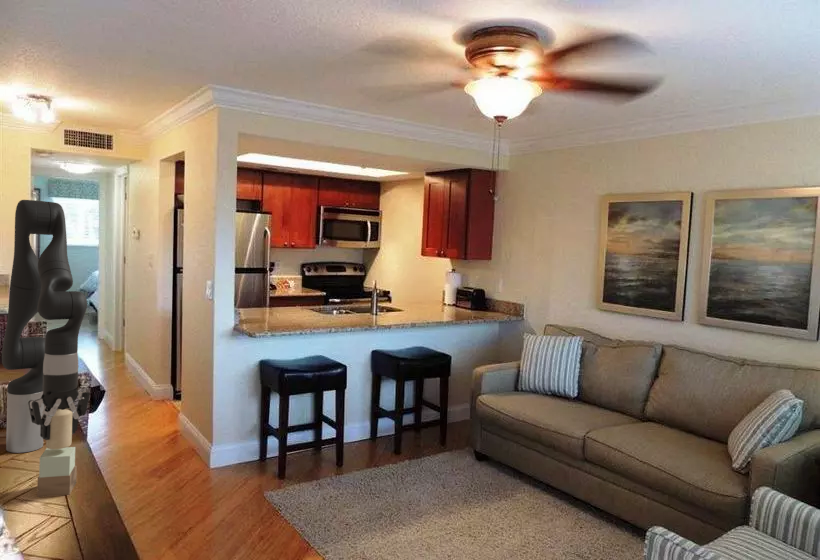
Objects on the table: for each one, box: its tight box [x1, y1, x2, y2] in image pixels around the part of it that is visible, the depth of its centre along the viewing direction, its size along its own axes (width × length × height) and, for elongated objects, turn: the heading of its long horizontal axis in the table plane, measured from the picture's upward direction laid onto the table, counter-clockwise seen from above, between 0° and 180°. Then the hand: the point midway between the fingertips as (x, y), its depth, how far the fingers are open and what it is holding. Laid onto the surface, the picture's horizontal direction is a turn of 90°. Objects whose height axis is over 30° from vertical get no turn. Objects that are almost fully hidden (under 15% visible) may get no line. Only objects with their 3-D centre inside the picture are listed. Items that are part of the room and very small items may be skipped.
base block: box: [36, 464, 78, 498], centre depth 145 cm, size 7×7×5 cm
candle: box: [45, 408, 73, 449], centre depth 144 cm, size 6×6×10 cm
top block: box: [38, 446, 76, 478], centre depth 144 cm, size 6×6×5 cm
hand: (59, 435), depth 144 cm, fingers closed on candle, 5 cm apart
